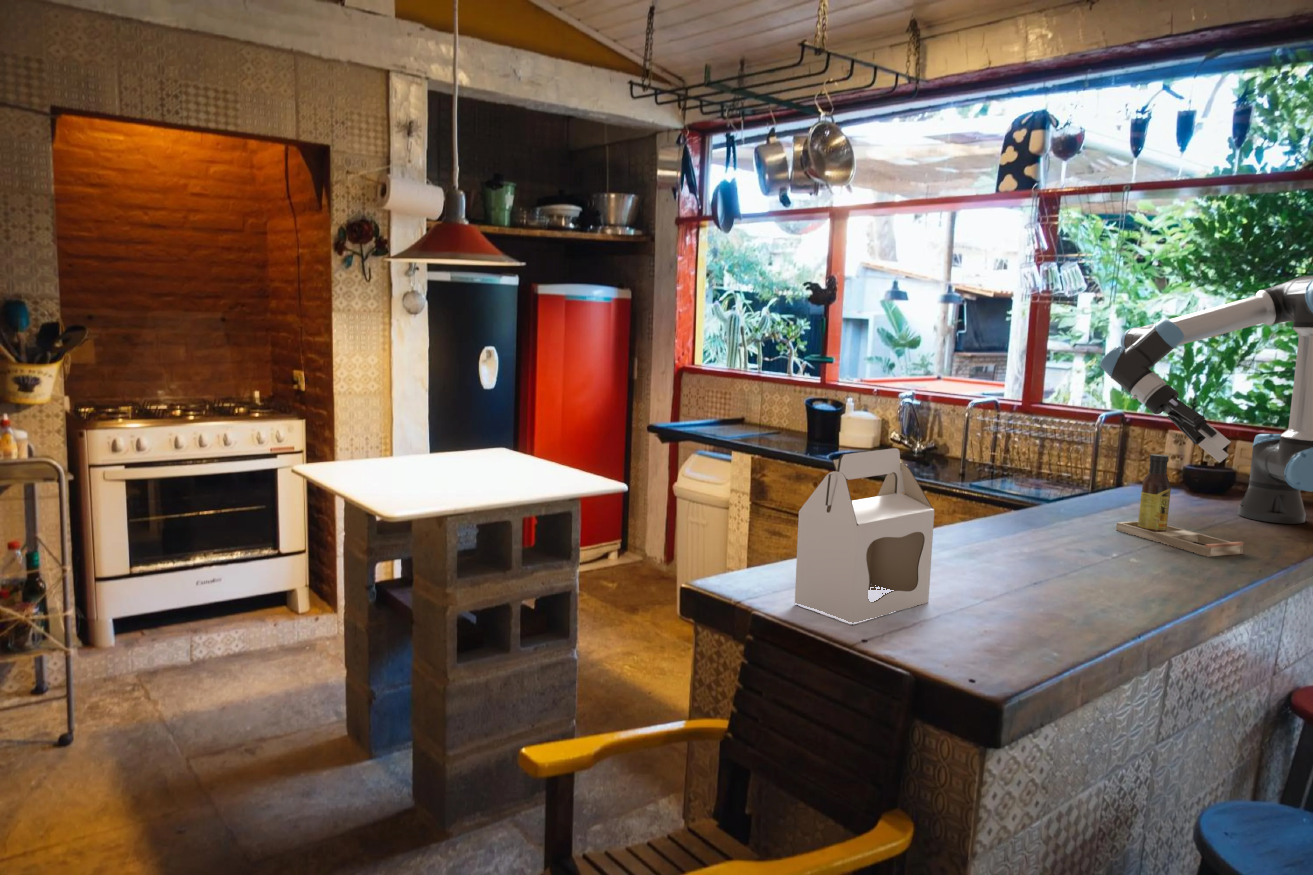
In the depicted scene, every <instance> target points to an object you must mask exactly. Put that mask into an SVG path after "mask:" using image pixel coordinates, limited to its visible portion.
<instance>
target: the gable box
mask: <svg viewBox="0 0 1313 875" xmlns="http://www.w3.org/2000/svg"><path fill="white" fill-rule="evenodd" d="M900 452H901V451H900V449H899V448H896V447H892V448H887V449H886V448H885V449H875V450H868V451H861V452H860V451H858V452H852V453H851V452H850V453H843V454H841V455H840V456H839V458H838V459H833V460H832V464H833V466H834V470H835V471H834V470H833V471H830V472H829V473H827V474H826V475H825V477H824V478H823V479H822V480H821V482H820V483H819V484H818V485H817V486H816V488H815V489H814V491H813V492H812V493H811V495H810V496H809V497H808V499H807V500H806V501H805V503H803V505H802V507H800V509H799V510H798V522H797V524H798V525H797V544H796V564H795V565H796V567H795V588H794V589H795V590H794V604H795V603H797V604H801V605H804V606H807V607H810V608H814V609H817V610H819V611H823V612H825V613H827V614H830V615H833V616H836V617H838V618H841V619H844V620H846V621H848V622H852V623H854V622H859V621H863V620H866V619H870V618H875V617H878V616H881V615H886V614H889V613H891V612H894V611H899V610H902V609H906V608H909V609H911V607H912V608H914V606H915V607H918V606H917V605H919V606H921V604H922V605H925V604H929V600H930V598H929V597H930V587H931V586H930V584H931V569H932V568H931V567H932V552H933V539H934V538H933V536H934V526H935V525H934V522H935V521H934V520H935V509H934V507H933V505H932V503H931V502H930V500H929V499H928V497H927V495H926V494H925V492H924V490H923V489H922V487H921V485H920V484H919V482H918V480H917V479H916V477H915V475H914V473H913V472H912V470H911V469H910V468H909V466H908V464H907V463H902V462H901V453H900ZM883 475H885V478H884V481H883V483H882V484H881V487H880V489H879V492H878V494H877V495H876V496H872V497H866V498H860V499H854V500H852V497H851V492H850V489H849V484H848V481H849V480H850V481H851V480H855V479H864V478H869V477H870V478H871V477H876V476H883ZM875 585H876V586H875ZM878 586H879V587H880V589H877V590H881V587H883V588H886V590H887V589H890V590H894V591H891V592H889V593H887V594H886V593H885V595H883V596H882V597H881V598H879V599H878V600H876V601H874V602H870V601H869V599H868V590H870V587H874V588H871V590H876V588H875V587H878ZM883 590H885V589H883ZM882 594H883V593H882ZM906 610H907V609H906ZM902 611H903V610H902ZM899 612H900V611H899ZM889 615H890V614H889ZM886 616H887V615H886Z"/></svg>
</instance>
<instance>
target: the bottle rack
mask: <svg viewBox="0 0 1313 875" xmlns="http://www.w3.org/2000/svg"><path fill="white" fill-rule="evenodd" d="M1138 521H1139V520H1136V521H1122V522H1120V521H1119V522H1116V525H1115V526H1116V529H1115V531H1117V530H1118V531H1117V532H1120V531H1123V532H1122V533H1124V532H1126V533H1125V534H1127V533H1128V534H1127V535H1131V534H1133V535H1132V536H1134V535H1136V536H1135V537H1137V536H1139V537H1138V538H1141V537H1142V538H1141V539H1144V538H1147V539H1146V540H1148V539H1150V540H1149V541H1151V540H1153V541H1152V542H1155V541H1157V542H1156V543H1158V542H1161V543H1160V544H1162V543H1164V544H1163V545H1165V544H1167V545H1166V546H1169V545H1171V546H1170V547H1172V546H1174V547H1173V548H1176V547H1177V548H1176V549H1179V548H1181V549H1180V550H1183V549H1184V551H1186V552H1190V553H1193V552H1194V554H1197V555H1201V556H1203V557H1218V556H1219V557H1220V556H1230V555H1240V554H1241V555H1242V554H1243V553H1244V552H1243V550H1244V549H1243V548H1244V544H1245V542H1243V541H1229V540H1226V539H1221V538H1218V537H1214V536H1210V535H1207V534H1203V533H1199V532H1195V531H1191V530H1188V529H1184V528H1180V527H1176V526H1171V525H1168V524H1167V530H1166V532H1152V531H1149V530H1145V529H1141V528H1138V527H1139V526H1138ZM1193 542H1196V543H1193ZM1198 543H1199V544H1198ZM1202 544H1203V545H1202Z"/></svg>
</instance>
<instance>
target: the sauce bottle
mask: <svg viewBox="0 0 1313 875" xmlns="http://www.w3.org/2000/svg"><path fill="white" fill-rule="evenodd" d="M1169 460H1170V459H1169V455H1166V454H1159V453H1157V454H1155V453H1151V454H1149V468H1148V472H1149V473H1148V474H1147V475H1146V476H1145V477H1144V479H1143V481H1142V488H1141V489H1142V490H1141V492H1140V502H1139V513H1138V520H1137V521H1138V526H1139V527H1138V528H1141V529H1145V530H1149V531H1152V532H1166V530H1167V525H1168V519H1169V510H1170V500H1171V492H1172V491H1171V490H1172V488H1171V484H1170V482H1169V477H1168V474H1167V473H1168V463H1169Z"/></svg>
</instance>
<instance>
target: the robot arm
mask: <svg viewBox="0 0 1313 875" xmlns="http://www.w3.org/2000/svg"><path fill="white" fill-rule="evenodd" d="M1286 322H1287V323H1288V322H1289V323H1290V322H1293V323H1292V330H1294V331H1295V333H1296V334H1297V335H1298V342H1297V351H1296V359H1295V360H1296V361H1295V367H1294V378H1293V386H1292V393H1291V394H1292V395H1291V404H1290V411H1289V413H1290V414H1289V420H1288V428H1287V429H1286V430H1285V431H1284V432H1283V433H1259V434H1256V435H1255V437H1254V440H1253V444H1252V445H1251V446H1252V448H1251V449H1252V452H1251V453H1252V454H1251V463H1250V470H1249V481H1248V487H1247V490H1246V492H1245V494H1244V495H1243V498H1242V500H1241V502H1240V504H1239V505H1238V510H1237V514H1238V515H1239V516H1241V517H1243V518H1246V519H1251V520H1256V521H1260V522H1266V523H1274V524H1275V523H1277V524H1288V525H1289V524H1291V525H1292V524H1303V523H1305V522H1306V516H1307V514H1306V511H1305V506H1304V502H1303V498H1302V495H1301V492H1302V491H1304V492H1308V493H1309V492H1310V493H1311V492H1313V275H1303V276H1299V277H1296V278H1293V279H1290V280H1287V281H1285V282H1282V283H1279V284H1277V285H1273V286H1271V287H1268V288H1264V289H1260V290H1258V291H1257V292H1256V293H1255V295H1253V296H1248V297H1246V298H1243V299H1239V300H1234V301H1231V302H1228V303H1224V304H1220V305H1216V306H1212V307H1210V308H1206V309H1205V308H1204V309H1202V310H1198V311H1195V312H1190V313H1188V314H1183V315H1180V316H1176V317H1173V318H1162V319H1160V320H1159V321H1158V322H1155V323H1151V324H1147V325H1144V326H1134V327H1131V328H1129V329H1127V330H1126V331H1125V332H1124V333H1123V334H1122V336H1121V338H1120V345H1118V346H1115V347H1114V348H1112V349H1111V350H1109V351H1108V352H1107V353H1106V354H1105V355H1104V356H1103V358H1102V360H1101V361H1100V368H1101V370H1103V371H1104V372H1105V373H1106V374H1107V375H1108V376H1109V377H1110V378H1111V380H1113V381H1115V382H1116V383H1117V384H1118V385H1120V386H1121V387H1122V388H1123V389H1124V390H1125V391H1127V392H1128V393H1129V394H1130V395H1131V399H1133V400H1136V399H1137V401H1139V403H1141V404H1144V407H1146V409H1147V410H1149V411H1150V412H1151V413H1152V414H1154V415H1155V416H1156V415H1161V414H1162V413H1163V412H1165V413H1166V414H1167V419H1168V420H1169V421H1171V422H1172V423H1173V424H1174V426H1176V427H1177V428H1178V429H1179V430H1180V431H1181V432H1182V433H1183V434H1184V435H1185V436H1186V437H1187V438H1188V439H1189V440H1190V441H1191V442H1192V443H1193V445H1195V446H1196V445H1197V446H1199V447H1200V448H1202V449H1203V451H1205V452H1206V453H1208V454H1209V455H1210V456H1211V457H1212V458H1213V459H1215V460H1216V462H1218V463H1222V462H1223V461H1224V460H1225V459H1226V458H1228V457H1229V455H1230V454H1229V453H1227V452H1226V451H1225V450H1224V448H1226V447H1227V446H1228V445H1229V444H1231V443H1232V442H1231V440H1229V439H1228V438H1227V437H1225V435H1224V434H1222V433H1221V432H1220V431H1218V430H1217V429H1216V428H1214V426H1212V425H1211V424H1210V423H1209V422H1208V421H1207V420H1206V418H1205V416H1204V415H1202V414H1201V413H1199V412H1198V411H1196V410H1194V409H1193V408H1192V407H1190V406H1188V405H1187V404H1186V403H1184V402H1183V401H1181V400H1180V399H1179V396H1180V394H1179V391H1177V390H1176V389H1175V388H1173V387H1172V386H1171V385H1170V384H1167V382H1166V381H1165V380H1164V379H1163V378H1161V377H1160V376H1159V375H1158V374H1157V373H1155V372H1154V371H1152V370H1151V369H1152V368H1153V367H1154V366H1155V365H1156V364H1158V363H1159V362H1160V361H1161V360H1162V359H1164V357H1165V356H1167V355H1168V354H1169V353H1170V352H1172V351H1173V350H1174V349H1176V348H1177V347H1178V346H1181V345H1186V344H1189V343H1193V342H1196V341H1200V340H1204V339H1208V338H1212V337H1216V336H1219V335H1223V334H1226V333H1227V334H1228V333H1230V332H1235V331H1238V330H1239V331H1240V330H1242V329H1246V328H1247V329H1248V328H1250V327H1254V326H1257V325H1261V324H1265V325H1266V326H1273V325H1276V324H1280V323H1286Z"/></svg>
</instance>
